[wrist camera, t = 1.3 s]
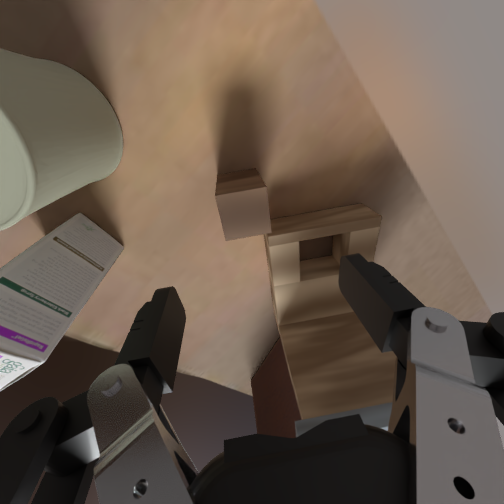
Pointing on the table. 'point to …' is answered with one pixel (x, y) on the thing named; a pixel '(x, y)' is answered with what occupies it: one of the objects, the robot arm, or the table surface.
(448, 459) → the robot arm
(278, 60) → the table surface
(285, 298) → the socket stand
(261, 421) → the letter holder
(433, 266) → the table surface
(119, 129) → the can
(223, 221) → the peg
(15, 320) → the syrup box
